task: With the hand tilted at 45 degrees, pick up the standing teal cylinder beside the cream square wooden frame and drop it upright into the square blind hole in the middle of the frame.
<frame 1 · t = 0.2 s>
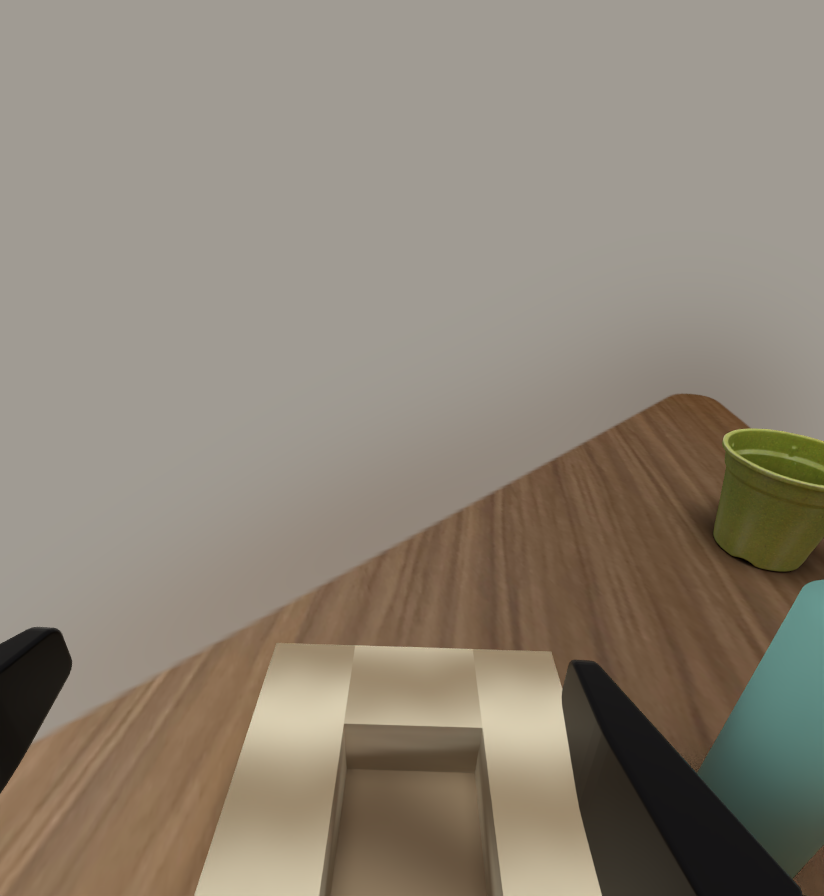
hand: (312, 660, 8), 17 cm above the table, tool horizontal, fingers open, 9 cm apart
cream square wooden frame: (409, 856, 19), on the table
plant pot: (752, 549, 38), on the table
teal cylinder: (730, 837, 20), on the table
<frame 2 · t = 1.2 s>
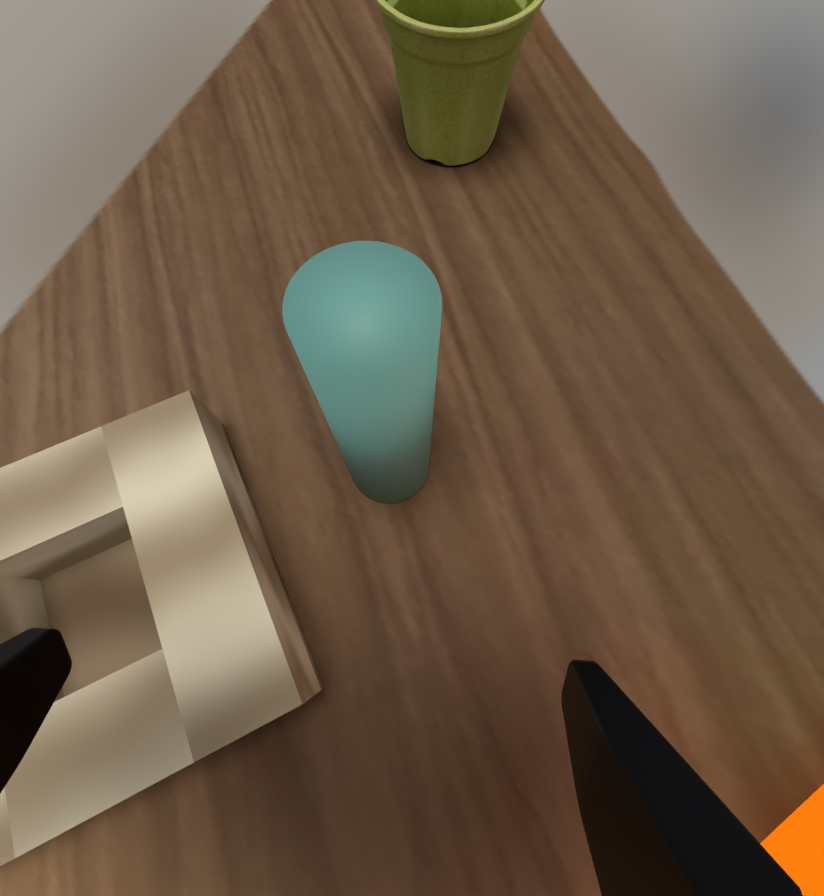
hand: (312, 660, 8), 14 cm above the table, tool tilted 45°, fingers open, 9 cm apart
cream square wooden frame: (126, 611, 21), on the table
plant pot: (448, 139, 32), on the table
teal cylinder: (390, 465, 24), on the table
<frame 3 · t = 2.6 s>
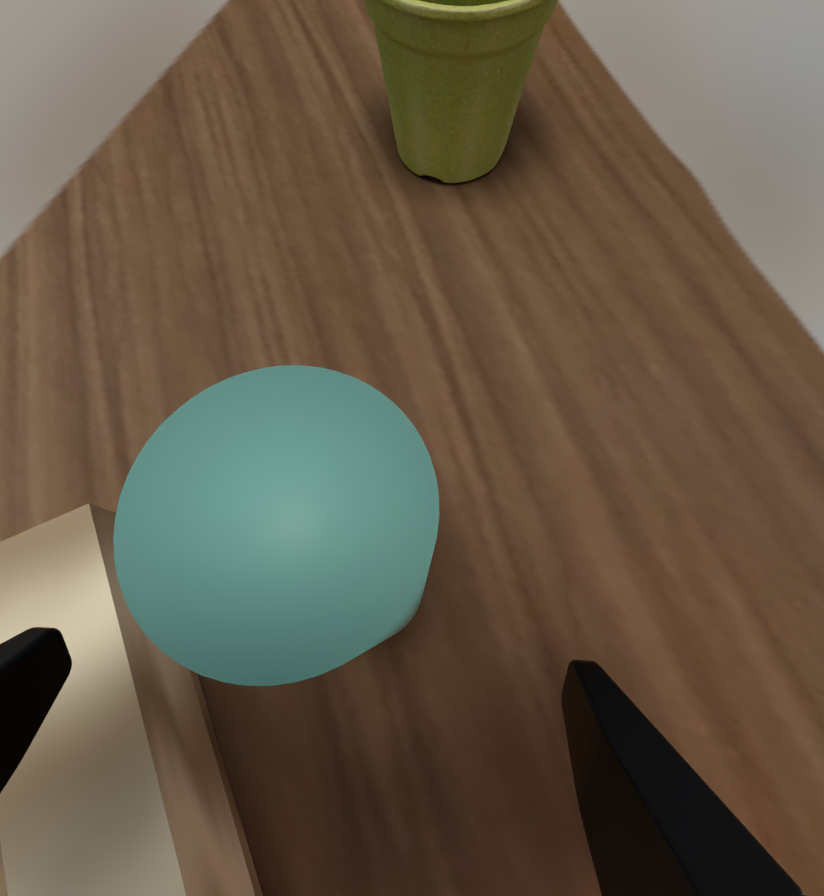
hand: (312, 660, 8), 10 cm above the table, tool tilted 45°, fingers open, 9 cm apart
cream square wooden frame: (4, 805, 15), on the table
plant pot: (448, 151, 27), on the table
teal cylinder: (371, 585, 18), on the table
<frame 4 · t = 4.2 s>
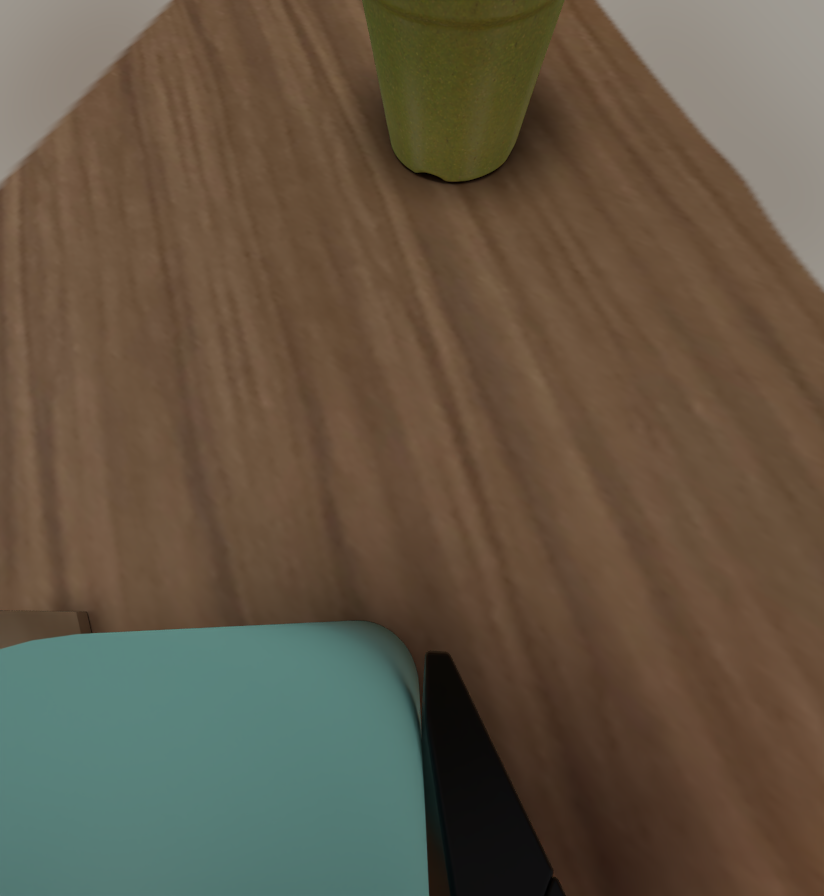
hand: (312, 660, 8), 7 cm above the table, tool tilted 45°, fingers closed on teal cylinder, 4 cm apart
plant pot: (450, 144, 23), on the table
teal cylinder: (354, 689, 14), on the table, touching gripper
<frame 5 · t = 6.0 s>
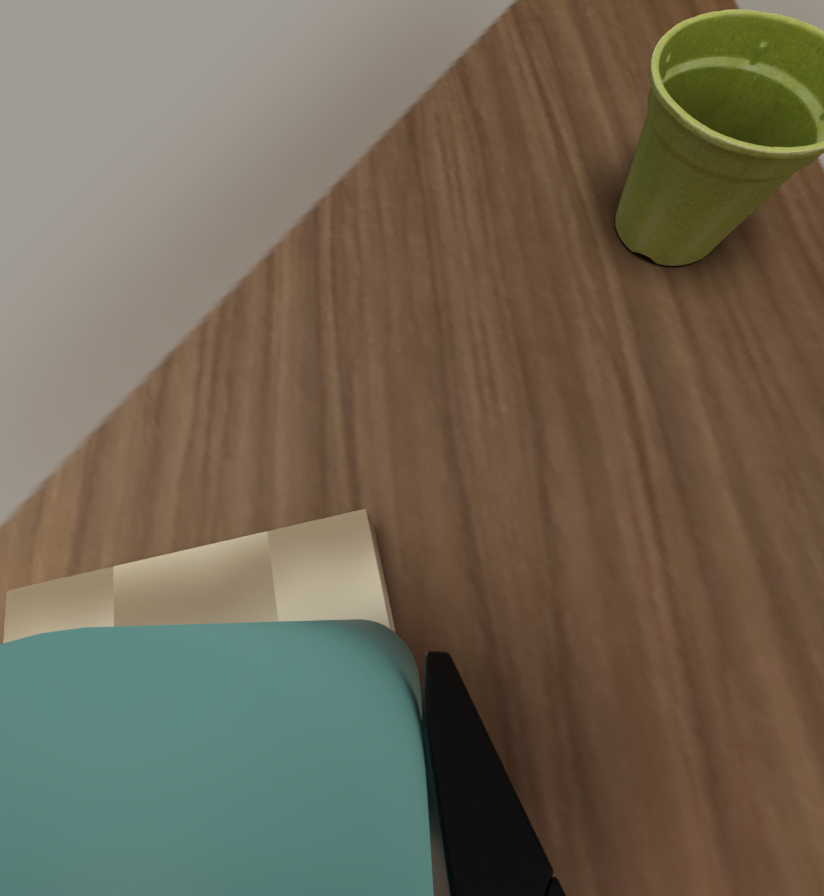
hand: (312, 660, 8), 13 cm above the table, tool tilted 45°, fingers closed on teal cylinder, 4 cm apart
cream square wooden frame: (245, 724, 20), on the table
plant pot: (660, 231, 29), on the table
teal cylinder: (356, 687, 14), point 6 cm above the table, touching gripper
when the fingers open (9 cm above the table, at t = 8.2 s): teal cylinder drops 1 cm, resting on cream square wooden frame.
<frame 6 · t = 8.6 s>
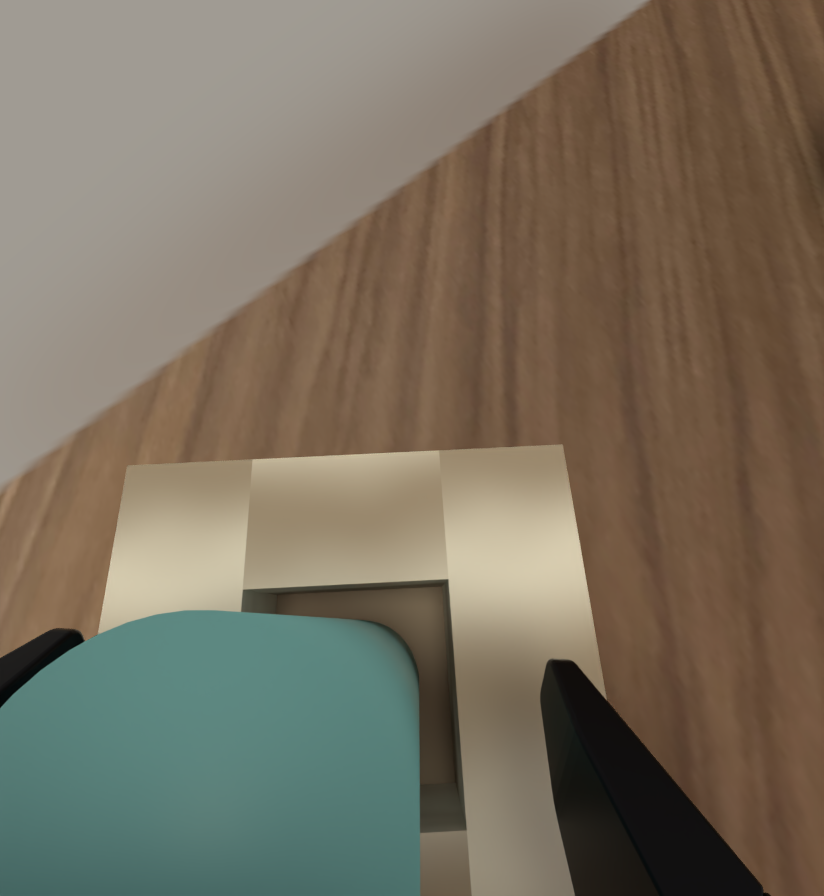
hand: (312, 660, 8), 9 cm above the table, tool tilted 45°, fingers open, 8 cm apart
cream square wooden frame: (361, 680, 16), on the table
teal cylinder: (360, 683, 16), point 1 cm above the table, touching cream square wooden frame
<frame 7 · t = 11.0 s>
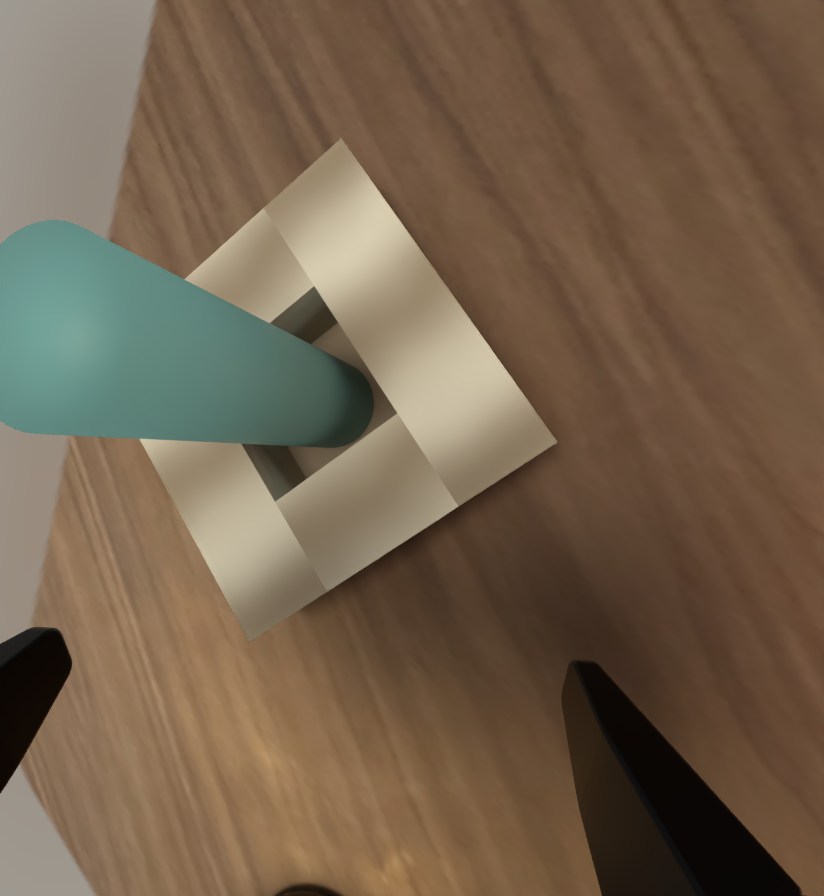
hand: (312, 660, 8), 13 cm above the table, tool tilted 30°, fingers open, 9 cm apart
cream square wooden frame: (337, 405, 22), on the table
teal cylinder: (332, 404, 21), point 1 cm above the table, touching cream square wooden frame
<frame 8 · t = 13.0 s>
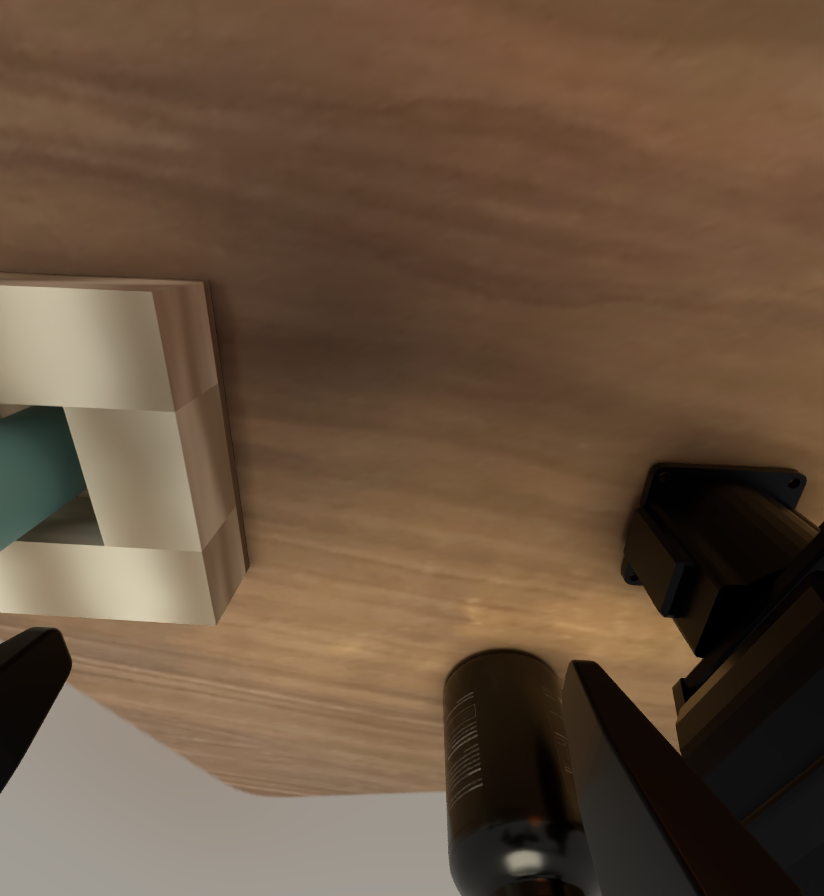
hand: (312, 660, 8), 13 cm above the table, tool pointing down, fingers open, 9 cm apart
supplement bottle: (501, 686, 27), on the table
cream square wooden frame: (81, 435, 21), on the table
teal cylinder: (73, 440, 21), point 1 cm above the table, touching cream square wooden frame
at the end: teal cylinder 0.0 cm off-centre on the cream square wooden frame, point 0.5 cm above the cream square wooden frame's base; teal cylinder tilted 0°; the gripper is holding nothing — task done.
